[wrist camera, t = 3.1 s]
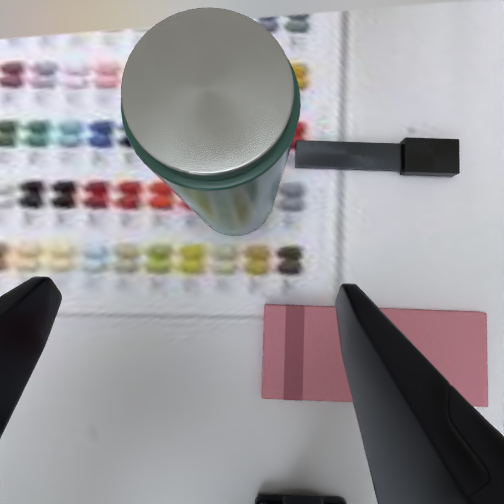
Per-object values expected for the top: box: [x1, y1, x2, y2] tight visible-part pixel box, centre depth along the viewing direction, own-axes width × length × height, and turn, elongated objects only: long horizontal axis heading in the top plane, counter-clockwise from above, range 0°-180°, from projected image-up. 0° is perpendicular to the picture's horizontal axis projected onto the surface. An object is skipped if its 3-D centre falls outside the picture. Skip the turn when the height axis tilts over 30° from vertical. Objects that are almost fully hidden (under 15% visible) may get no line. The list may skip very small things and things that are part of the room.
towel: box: [262, 304, 488, 407], centre depth 20 cm, size 7×16×1 cm, turn 88°
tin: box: [121, 8, 301, 236], centre depth 15 cm, size 6×6×13 cm
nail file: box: [295, 138, 459, 177], centre depth 21 cm, size 3×12×1 cm, turn 88°
